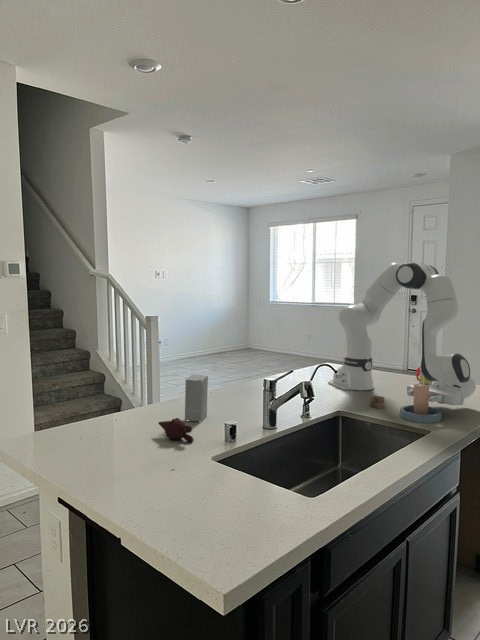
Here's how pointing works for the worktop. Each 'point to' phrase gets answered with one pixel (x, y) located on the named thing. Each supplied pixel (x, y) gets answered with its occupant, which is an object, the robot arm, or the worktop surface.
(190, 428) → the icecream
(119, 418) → the worktop surface
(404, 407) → the dish
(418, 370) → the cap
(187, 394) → the skincare box
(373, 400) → the walnut block
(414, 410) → the peach tapered cylinder
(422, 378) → the supplement bottle
